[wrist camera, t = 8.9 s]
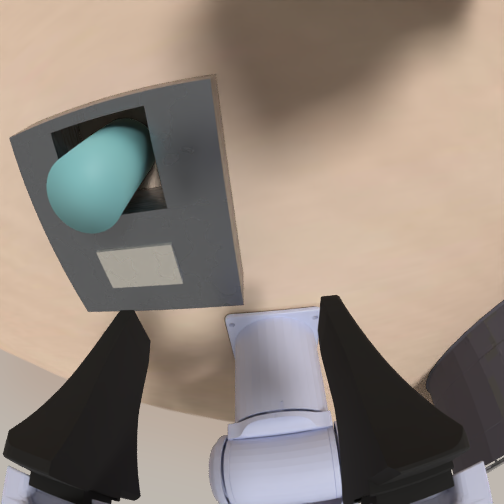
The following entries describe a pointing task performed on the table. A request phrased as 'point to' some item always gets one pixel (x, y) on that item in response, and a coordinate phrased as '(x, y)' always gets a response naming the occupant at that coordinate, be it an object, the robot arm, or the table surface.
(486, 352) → the ventilation fan
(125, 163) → the barrel peg
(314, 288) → the table surface
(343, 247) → the table surface
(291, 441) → the robot arm
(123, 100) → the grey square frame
